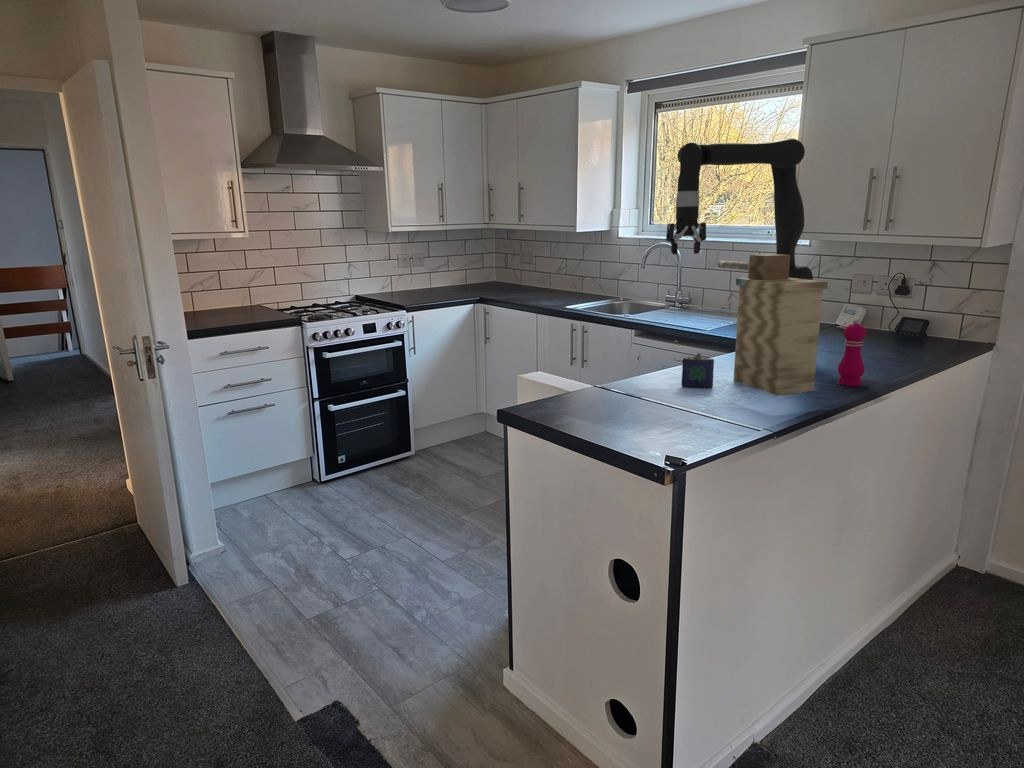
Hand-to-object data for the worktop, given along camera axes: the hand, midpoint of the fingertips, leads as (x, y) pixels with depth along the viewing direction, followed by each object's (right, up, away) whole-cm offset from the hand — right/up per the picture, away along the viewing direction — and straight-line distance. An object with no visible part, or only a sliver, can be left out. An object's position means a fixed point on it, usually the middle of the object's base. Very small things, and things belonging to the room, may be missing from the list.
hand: (685, 254), depth 226 cm
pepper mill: (+43, -45, -27) cm, 68 cm away
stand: (+19, -45, -27) cm, 56 cm away
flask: (-3, -46, -26) cm, 53 cm away
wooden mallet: (+14, -11, -21) cm, 27 cm away
